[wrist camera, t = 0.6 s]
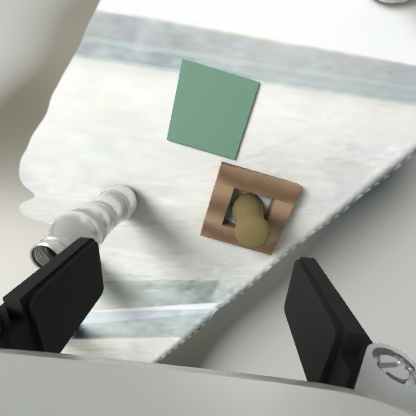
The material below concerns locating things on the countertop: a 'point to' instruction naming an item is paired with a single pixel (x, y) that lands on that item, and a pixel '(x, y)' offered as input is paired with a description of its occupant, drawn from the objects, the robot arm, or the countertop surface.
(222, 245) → the countertop surface
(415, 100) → the countertop surface
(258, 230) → the cork
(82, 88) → the countertop surface
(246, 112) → the mat
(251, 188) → the socket
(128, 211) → the plastic bottle
